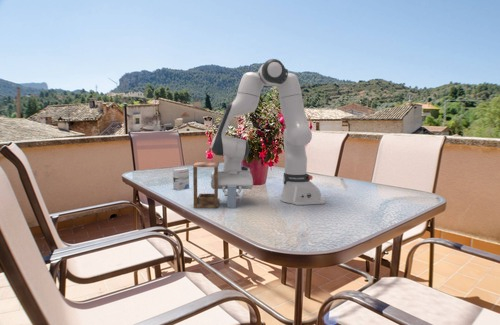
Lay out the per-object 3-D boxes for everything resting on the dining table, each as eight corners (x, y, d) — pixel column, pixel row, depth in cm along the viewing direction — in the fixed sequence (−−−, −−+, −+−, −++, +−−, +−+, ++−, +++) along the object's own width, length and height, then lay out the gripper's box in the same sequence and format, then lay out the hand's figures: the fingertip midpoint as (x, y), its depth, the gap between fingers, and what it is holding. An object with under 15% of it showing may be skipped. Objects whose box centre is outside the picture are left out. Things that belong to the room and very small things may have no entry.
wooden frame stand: (219, 200, 152) (219, 161, 149) (217, 207, 138) (217, 165, 135) (197, 200, 151) (197, 161, 149) (193, 207, 137) (193, 164, 135)
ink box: (183, 186, 183) (183, 167, 181) (189, 188, 180) (189, 168, 178) (172, 189, 176) (172, 169, 174) (178, 190, 173) (178, 170, 172)
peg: (236, 205, 143) (236, 184, 141) (236, 207, 139) (236, 186, 137) (227, 205, 142) (227, 184, 141) (227, 207, 138) (227, 186, 137)
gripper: (210, 167, 145) (209, 191, 136) (253, 168, 146) (253, 192, 137) (211, 175, 150) (210, 199, 141) (252, 175, 151) (253, 199, 142)
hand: (231, 195), depth 139 cm, fingers closed on peg, 4 cm apart
